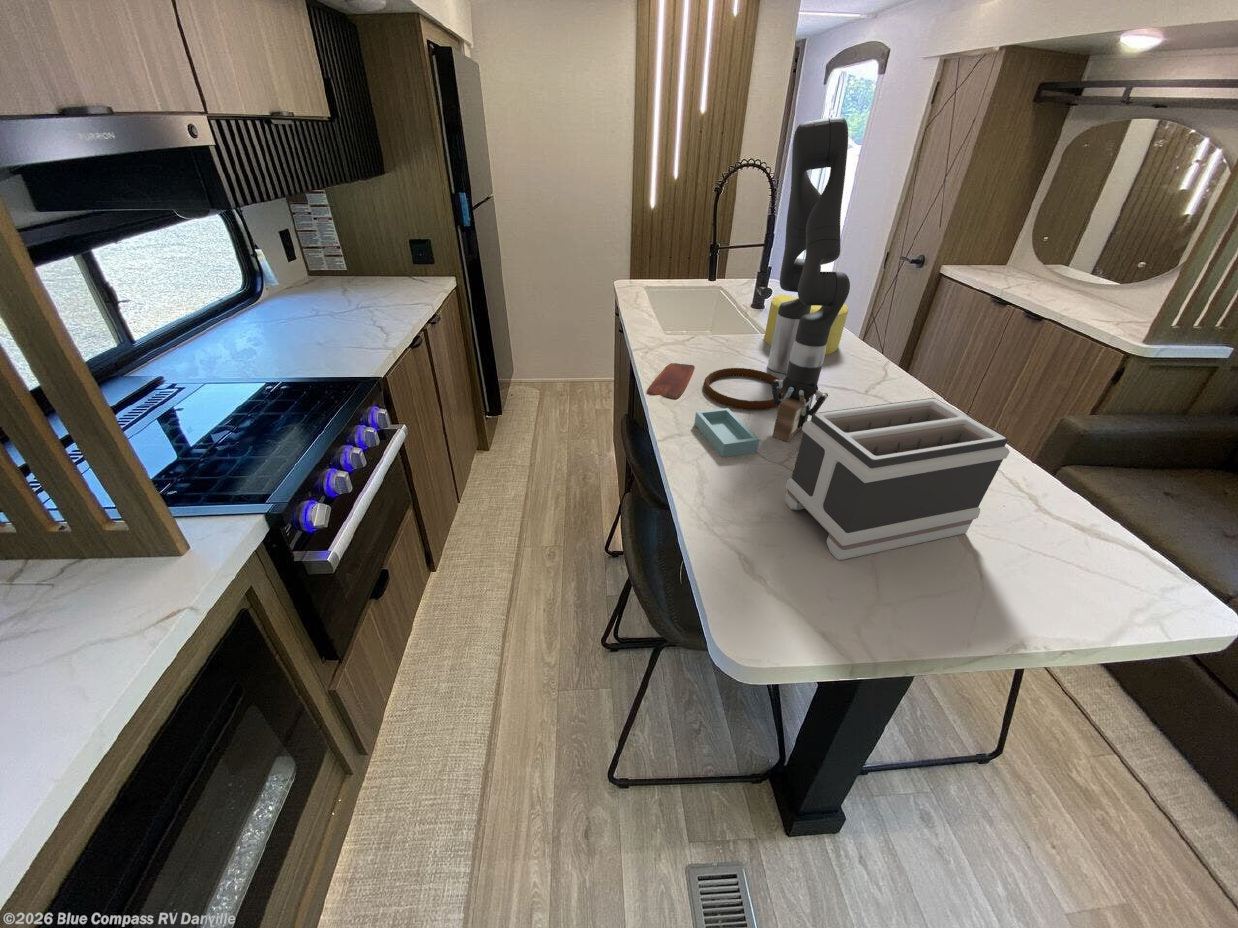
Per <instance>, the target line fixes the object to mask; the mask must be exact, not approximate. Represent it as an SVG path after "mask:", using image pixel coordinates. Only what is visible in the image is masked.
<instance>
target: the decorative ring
mask: <svg viewBox="0 0 1238 928" xmlns="http://www.w3.org/2000/svg"><path fill="white" fill-rule="evenodd" d="M729 377H744V378H751V379H754V380H755V379H756V380H760V381H763V382H765V383H768V384H770V385H772V382H773V381H775V380H776V379H780V378H779V377H778V376H775V375H773V374H771V373H768V372H765V371H762V370H758V369H754V368H753V369H752V368H747V367H746V368H745V367H731V368H721V369H717V370H715V371H713V372H710V373H709V374H708V375H707V376H706V377H705V378H704V381H703V385H702V386H703V389H704V392H705V394H706V395H707V397H709V398H710V399H711V400H713V401H715V402H716V403H718V404H721V405H723V406H725V407H728V408H729V407H730V408H735V409H738V410H745V411H746V410H747V411H764V410H771V409H773V408H778V407H779V405H777V404H774V400H773V398H770V399H766V400H746V399H739V398H735V397H731V396H727V395H724V394H723V393H720V392H719V391H716V390H715V389H714V388H713V387H712V386H711V385H710V384H711V382H713V381H715V380H718V379H722V378H729ZM781 392H782V399H783V398H784V397H785V395H786V391H785V388H784V386H782V388H781Z"/></svg>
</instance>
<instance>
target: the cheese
mask: <svg viewBox="0 0 1238 928" xmlns="http://www.w3.org/2000/svg"><path fill="white" fill-rule="evenodd" d="M798 298H799V297H796V296H791V295H788V294H787V295H786V294H783V293H782V294H777V295H775V296H773V297H772V298H771V300H770V301H771V302H770V306H769V311H768V316H767V322H766V328H765V332H764V337H763V339H764V341H765V342H766V344H767V345H770V346H772V341H773V336H774V331H775V326H776V320H777V315H778V310H779V306H780V304H782V303H783V302H787V301H791V300H795V299H798ZM821 307H822V306H819V305H811V310H810V313H814V312H816V311H818V310H819V309H820V308H821ZM848 313H849V308H848V305H847V304H846V303H844V304H843V306H842V308H841V310H840V311H839V313H838V315H837V317H836V319H835V320H834V322H833V324H832V326H831V329H830V333H829V337H828V341H827V344H826V352H825V355H830V354H832V353H834V352H836V351H837V350H838V349H839V346H840V343H841V339H842V334H843V332H844V328H845V324H846V320H847V317H848Z"/></svg>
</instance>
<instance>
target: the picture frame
mask: <svg viewBox="0 0 1238 928" xmlns="http://www.w3.org/2000/svg"><path fill="white" fill-rule="evenodd" d="M814 395H815V394H814ZM814 395H813V396H811V397H810V409H812V404H813V400H814ZM802 403H803V402H802ZM802 403H801V402H800V401H799V400H796V399H792V398H789V399H788V398H786V399H785V400H784V401H782V402H781V403H780V404H779V406H778V407H777V408H778V409H777V413H776V418H775V422H774V426H773V431H772V437H773V438H776V439H779V440H782V441H784V442H787V443H788V441H790V440H791V439H792V438H793V437H794V436H795V435H796V434H797V433H798V432H799V431H801V430H802V427H801V428H797V426H798V422H799V418H800V415H801V410H802ZM808 419H809V416H808V417H807V421H808ZM807 421H806V422H807Z"/></svg>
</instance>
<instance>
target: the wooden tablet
mask: <svg viewBox="0 0 1238 928" xmlns="http://www.w3.org/2000/svg"><path fill="white" fill-rule="evenodd" d="M694 371H695V364H694V365H693V364H686V363H679V362H678V363H677V362H672V363H669V364H667V365H666V366H665V367H663V370H661V371H660V372H659V374H658V375H657V376H656V377H655V379H654V380H653V381H652V382H651V384H650V385H649V386H648V388H647V390H646V394H647V395H651V396H661V397H663V398H665V399H669V400H678V399H679V398H680V397H681V395H682V394H683V393H684V392H685V391H686V389H687V387H688V385H689V382H690V381H691V378H692V375H693V373H694Z"/></svg>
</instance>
